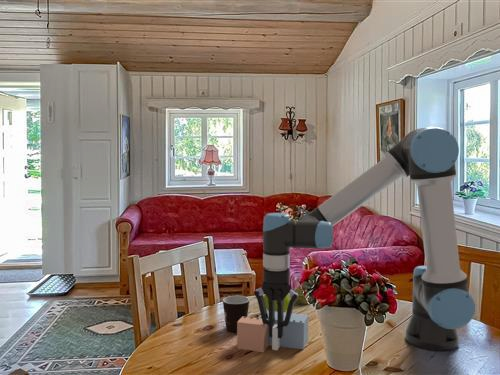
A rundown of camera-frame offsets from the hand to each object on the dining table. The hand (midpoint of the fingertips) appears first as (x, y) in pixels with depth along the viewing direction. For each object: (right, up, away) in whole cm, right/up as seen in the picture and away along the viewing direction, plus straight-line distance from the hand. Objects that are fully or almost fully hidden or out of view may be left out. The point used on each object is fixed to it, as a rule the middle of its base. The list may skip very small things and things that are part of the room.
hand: (275, 348), depth 140 cm
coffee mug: (-12, 0, +19) cm, 22 cm away
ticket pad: (+3, -1, +8) cm, 8 cm away
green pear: (+13, +2, +46) cm, 48 cm away
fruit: (+2, +1, +32) cm, 32 cm away
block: (-7, -1, +4) cm, 8 cm away
